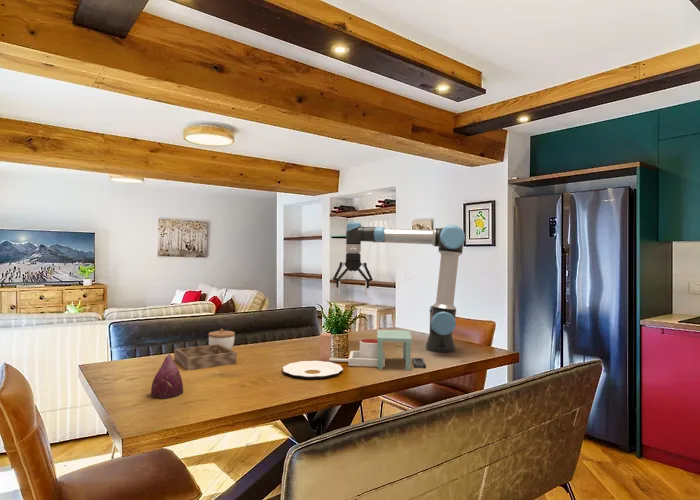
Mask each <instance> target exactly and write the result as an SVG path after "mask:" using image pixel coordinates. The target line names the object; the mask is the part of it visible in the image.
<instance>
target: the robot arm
mask: <svg viewBox="0 0 700 500" xmlns="http://www.w3.org/2000/svg"><path fill="white" fill-rule="evenodd" d="M345 230H346V231H345V232H346V233H345V237H346V238H345V241H346V243H345V252H346V254H345V261H344V262H342V261H340V262H339V266H338V268H337V270H336V272H335V274H334V275H333V277H332V280H333V281H335V283H336V284H335V285H336V288H338V291H337V292H338V293H337V294H338V295H340V294H341V281H340V280H341V279H342V277H343V276H345V275H346V273H348V272H357V271H358V272H359V274H360V276H361V277H362V278H363V279H365V283H364V284H365V285H364V286H365V287H364V296H367V294H368V293H367V292H368V289H369V288H370V282H372V281H373V277H372V275H371V273H370V271H369V269H368V266H367V262H361V261H362V259H361V251H362V242H369V243H370V242H371V243H386V244H387V243H390V244H414V245H415V244H417V245H432V246H433V247H438V253H439V254H440V262H439V271H438V279H437V280H438V281H437V289H436V298H435V301H436V302H434V303H433V305H431V306H430V307H429V336H428V337H427V338H428V339H427V340H426V344H425V348H426V349H425V350H428V351H430V352H431V351H432V352H435V353H436V352H437V353H451V352H455V351H456V344H455V342H454V338H453V332H454V330H455V328H456V325H457V320H456V314H457V307H456V306H455V304H454V303H455V293H456V286H457V284H456V283H457V275H458V267H459V266H458V265H459V258H460V257H461V255H462V254H463V248H464V243H465V240H466V234H465V231H464V230H463V229H462V227H460V226H458V225H456V224H449V225H446V226H444V227H440V228H439V227H437V228H436V227H434V228H433V229H411V228H384V227H383V226H362V223H361V222H348V223H347V224H346V229H345ZM344 266H345V267H346V268H345V269H344V271H343V272H342V273H341V274H340V272H341V270H342V267H344ZM360 267H363V268H364V270H365V272H366V275H365V273H364V271H363V270H362V268H360ZM339 274H340V275H339ZM338 275H339V276H338ZM367 276H368V277H367Z"/></svg>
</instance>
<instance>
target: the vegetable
mask: <svg viewBox="0 0 700 500" xmlns="http://www.w3.org/2000/svg"><path fill="white" fill-rule="evenodd" d="M183 393H184V384H183V380H182V375H181V373H180V370H179V368H178V366H177V364H176V363H175V360H174V358H173V356H172V355H171V353H168V354H167V355H166V356H165V357H164V360H163V362H162V364H161V366H160V368H159V369H158V370H157V372H156V374H155V376H154V377H153V380H152V384H151V390H150V396H151V397H152V398H154V399H159V400H166V399H173V398H176V397H179V396H182V395H183Z"/></svg>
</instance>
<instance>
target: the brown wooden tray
mask: <svg viewBox="0 0 700 500" xmlns="http://www.w3.org/2000/svg"><path fill="white" fill-rule="evenodd" d="M173 361H174V362H176V363H177V364H179V365H180V366H181V367H183V368H185V369H186V370H187V371H193V370H201V369H207V368H208V369H209V368H215V367H223V366H228V365H236V364H237V352H236V351H234V350H233V349H232V348H231V349H229V348H226V347H224V346H222V345H220V344H216V345H210V344H208V345H198V346H191V347H190V346H189V347H180V348H175V349H174V355H173Z"/></svg>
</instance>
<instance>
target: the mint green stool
mask: <svg viewBox="0 0 700 500" xmlns="http://www.w3.org/2000/svg"><path fill="white" fill-rule="evenodd" d="M376 334H377V335H376V340H377V341H378V367H377V370H383V367H382V366H383V352H384V342H386V343H388V342H389V343H403V346H402V347H403V348H402V350H403V352H402V353H403V356H402V358H403V359H402V360H405V371H411V362H412V361H411V359H412V357H411V356H412V354H411V353H412V350H411V349H412V348H411V347H412V343H413V337H412V335H411V332H410V330H399V329H377V332H376Z"/></svg>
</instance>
